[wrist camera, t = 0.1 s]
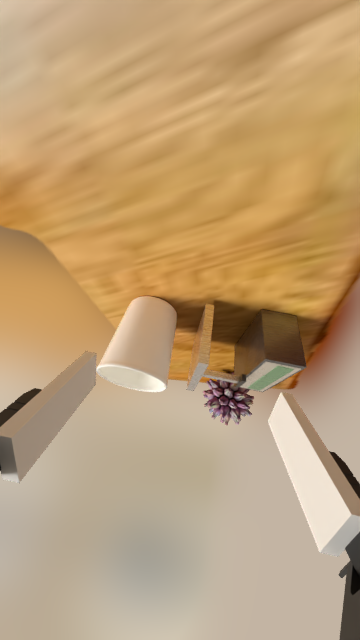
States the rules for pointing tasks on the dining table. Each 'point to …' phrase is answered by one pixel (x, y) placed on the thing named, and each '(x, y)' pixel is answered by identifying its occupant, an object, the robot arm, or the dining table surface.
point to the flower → (227, 400)
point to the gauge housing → (269, 351)
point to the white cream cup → (141, 346)
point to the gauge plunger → (207, 355)
